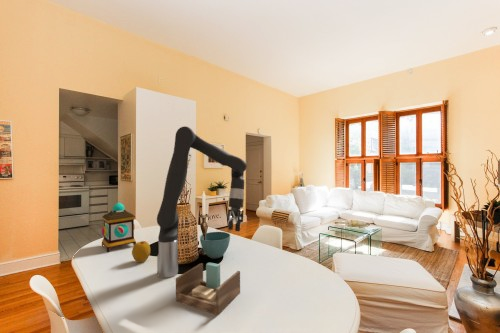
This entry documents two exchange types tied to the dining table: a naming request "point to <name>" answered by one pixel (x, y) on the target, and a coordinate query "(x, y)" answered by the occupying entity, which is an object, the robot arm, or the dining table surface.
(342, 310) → the dining table surface
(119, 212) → the decorative lantern
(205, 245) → the plant pot
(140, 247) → the apple
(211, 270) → the teal board
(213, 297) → the offcut stack
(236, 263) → the dining table surface
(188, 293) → the walnut rack
